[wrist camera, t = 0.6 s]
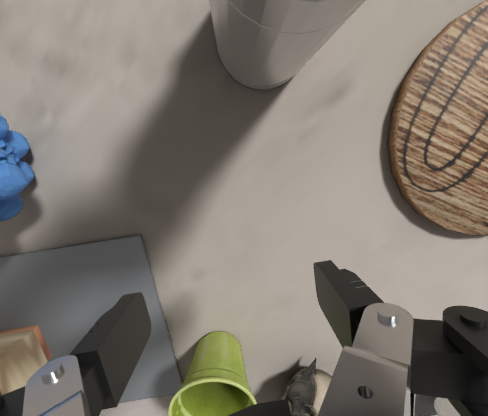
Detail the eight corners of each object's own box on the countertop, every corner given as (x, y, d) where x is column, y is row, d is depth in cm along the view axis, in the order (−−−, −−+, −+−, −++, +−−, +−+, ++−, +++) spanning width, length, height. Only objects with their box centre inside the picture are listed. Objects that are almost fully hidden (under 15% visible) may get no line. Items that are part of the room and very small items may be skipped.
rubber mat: (-68, 267, 30) (-73, 270, 29) (140, 234, 30) (139, 236, 29) (12, 416, 36) (9, 420, 35) (184, 389, 36) (183, 392, 35)
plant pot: (182, 374, 35) (167, 447, 27) (185, 317, 33) (168, 378, 24) (248, 377, 36) (253, 449, 28) (255, 321, 33) (263, 382, 25)
